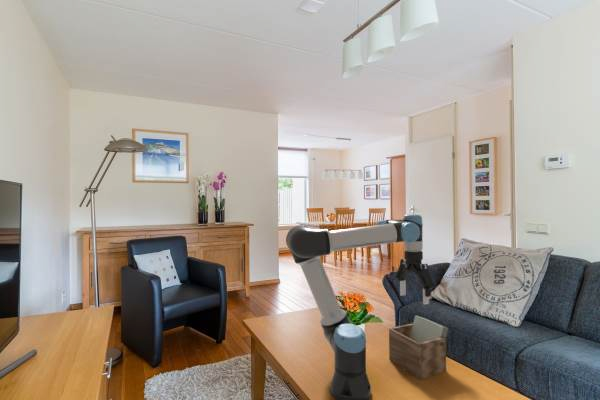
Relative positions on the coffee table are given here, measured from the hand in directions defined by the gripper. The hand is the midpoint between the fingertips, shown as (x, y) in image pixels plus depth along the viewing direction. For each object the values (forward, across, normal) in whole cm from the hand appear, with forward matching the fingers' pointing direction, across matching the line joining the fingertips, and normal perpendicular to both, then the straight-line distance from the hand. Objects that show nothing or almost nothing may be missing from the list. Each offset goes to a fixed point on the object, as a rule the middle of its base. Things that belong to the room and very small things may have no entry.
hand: (414, 299), depth 140 cm
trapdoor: (+20, 0, -9) cm, 22 cm away
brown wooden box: (+29, 0, -1) cm, 29 cm away
